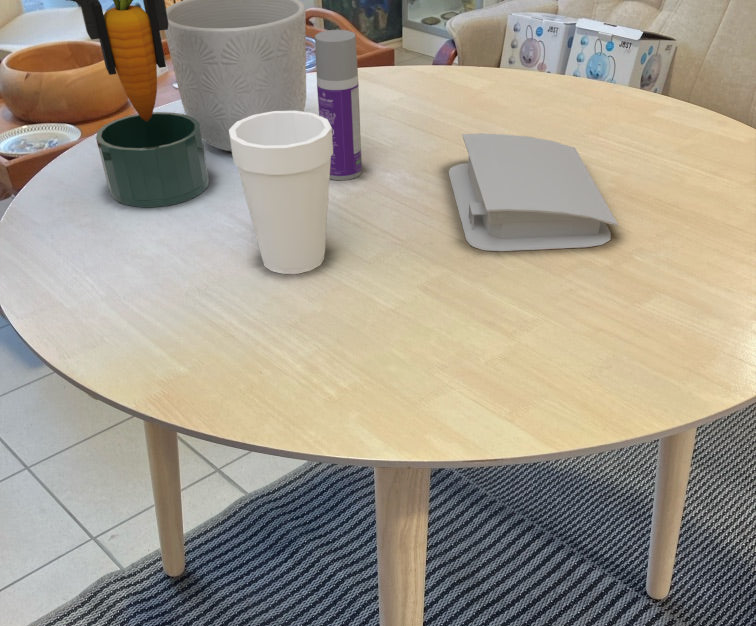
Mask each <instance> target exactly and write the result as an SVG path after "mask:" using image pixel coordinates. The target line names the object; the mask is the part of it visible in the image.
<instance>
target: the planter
mask: <svg viewBox="0 0 756 626" xmlns="http://www.w3.org/2000/svg"><path fill="white" fill-rule="evenodd" d="M166 12H167V18H168V24H169V25H168V30H163V31H164V36H165V39H166V43H167V47H168V51H169V55H170V60H171V64H172V67H173V72H174V76H175V81H176V85H177V89H178V93H179V98H180V101H181V104H182V108H183V110H184V111H183V112H184V114H185V115H187V116H190V117H192V118H194V119H196V120H197V121H198V122H199V123H200V128H201V134H202V140H203V142H205V143H207V144H208V145H210V146H212V147H214V148H216V149H218V150H221V151H226V152H231V153H232V149H231V142H230V135H229V129H230V128H231V127H232V126H233V125H234V124H235V123H236V122H237V121H240V120H242V119H244V118H247V117H249V116H252V115H256V114H261V113H266V112H272V111H301V112H305V109H306V104H307V103H306V102H307V37H306V36H307V30H306V29H307V28H306V27H307V26H306V24H307V23H306V22H307V21H306V6H305V4H304V3H303V2H302V1H301V0H180V1H178V2H176V3H173V4H172V5H170V6H168V7H166Z"/></svg>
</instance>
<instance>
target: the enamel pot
mask: <svg viewBox="0 0 756 626" xmlns="http://www.w3.org/2000/svg"><path fill="white" fill-rule="evenodd" d="M95 140H96V144H97V148H98V152H99V156H100V160H101V163H102V164H101V165H102V168H103V171H104V176H105V177H104V178H105V180H106V184H107V187H108V190H109V194H110V195H111V198H112V199H113V200H114V201H116V202H117V203H120V204H122V205H125V206H130V207H134V208H135V207H136V208H159V207H160V208H162V207H167V206H168V207H169V206H172V205H177V204H181V203H184V202H187V201H189V200H192V199H194V198H196V197H198V196H200V195H201V194H203V193H204V192H205V191H206V189H207V188H208V186H209V183H210V179H209V172H208V166H207V159H206V154H205V147H204V140H203V139H202V134H201V128H200V123H199V122H198V121H197V120H196V119H194V118H192V117H190V116H187V115H186V114H185V113H179V112H178V113H177V112H165V111H153V113H152V117H151V118H150V119H149V121H147V122H146V121H145V120H143V119H142V118H141V117H140V115H139V114H138V113H137V114H132V115H127V116H123V117H121V118H117V119H114V120H112V121H110V122H108V123H106V124H105V125H103V126H101V127H100V128H99V129H98V130H97V132H96V136H95Z"/></svg>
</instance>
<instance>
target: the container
mask: <svg viewBox="0 0 756 626" xmlns="http://www.w3.org/2000/svg"><path fill="white" fill-rule="evenodd" d="M356 37H357V36H356V33H355V32H354V31H350V30H347V29H346V30H345V29H330V30H329V29H328V30H324V31H320V32H318V33H316V34H315V35H314V49H315V69H316V70H315V71H316V90H317V101H318V103H317V104H318V115H319V116H321V117H323V118H326V119H328V121H329V123H330V125H331V127H332V143H333V154H332V155H331V162H330V178H329V180H334V181H349V180H353V179H356V178H358V177H360V176H361V175H362V174H363V168H362V167H363V166H362V165H363V164H362V163H363V162H362V137H361V135H362V134H361V112H360V111H361V110H360V87H359V86H360V85H359V68H358V53H357V38H356Z"/></svg>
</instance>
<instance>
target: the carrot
mask: <svg viewBox="0 0 756 626" xmlns="http://www.w3.org/2000/svg"><path fill="white" fill-rule="evenodd" d="M112 2H113V3H114V7H111V8H109V9H108V10H106V11H105V12H104V13H103V15H104V19H105V24H106V28H107V33H108V37H109V42H110V47H111V51H112V56H113V60H114V65H115V69H116V74H117V75H118V78H119V81H120V84H121V86H122V88H123V91H124V94H125V95H126V96H127V98H128V100H129V101H130V103H131V105H132V107H133V109H134V110H135V111H136V113H137V114H139V115H140V117H141V118H142V119H143V120H145V121H146V122H147V121H149V119H150V118H151V117H152V113H153V112H154V109H155V105H156V101H157V93H158V71H157V69H158V68H157V67H158V65H157V64H156V55H155V48H154V41H153V35H152V30H151V24H150V19H149V17H148V15H147V13H146V12H145V9H143V8H142V7H141V6H138V5H131V4H132V3H133V2H134V0H112Z"/></svg>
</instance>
